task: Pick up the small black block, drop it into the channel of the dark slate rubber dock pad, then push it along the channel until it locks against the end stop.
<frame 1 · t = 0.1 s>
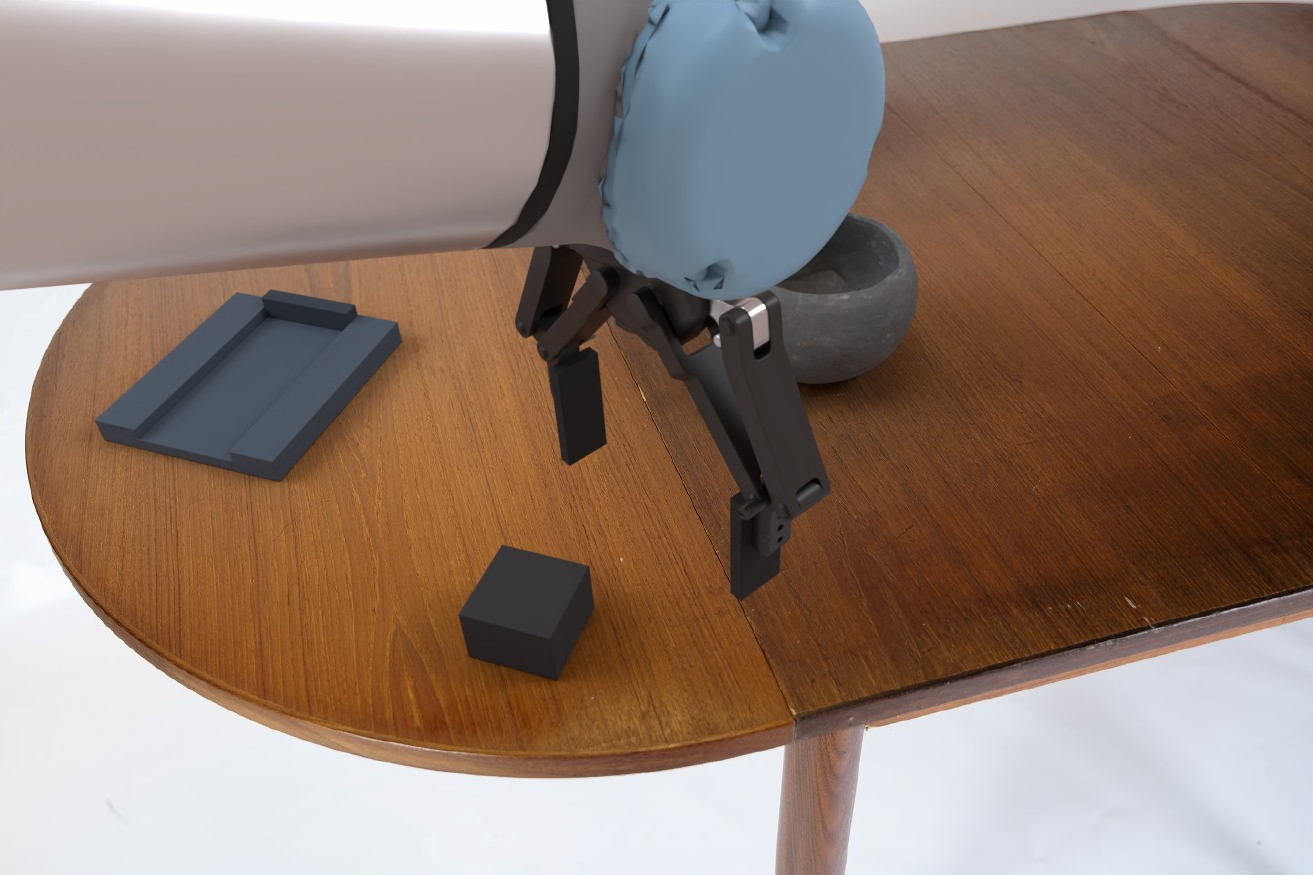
hand: (664, 513, 60), 13 cm above the table, tool pointing down, fingers open, 13 cm apart
cup: (420, 220, 110), on the table
bowl: (814, 359, 91), on the table
dock pad: (259, 388, 91), on the table
squash: (765, 143, 119), on the table
black block: (532, 631, 71), on the table
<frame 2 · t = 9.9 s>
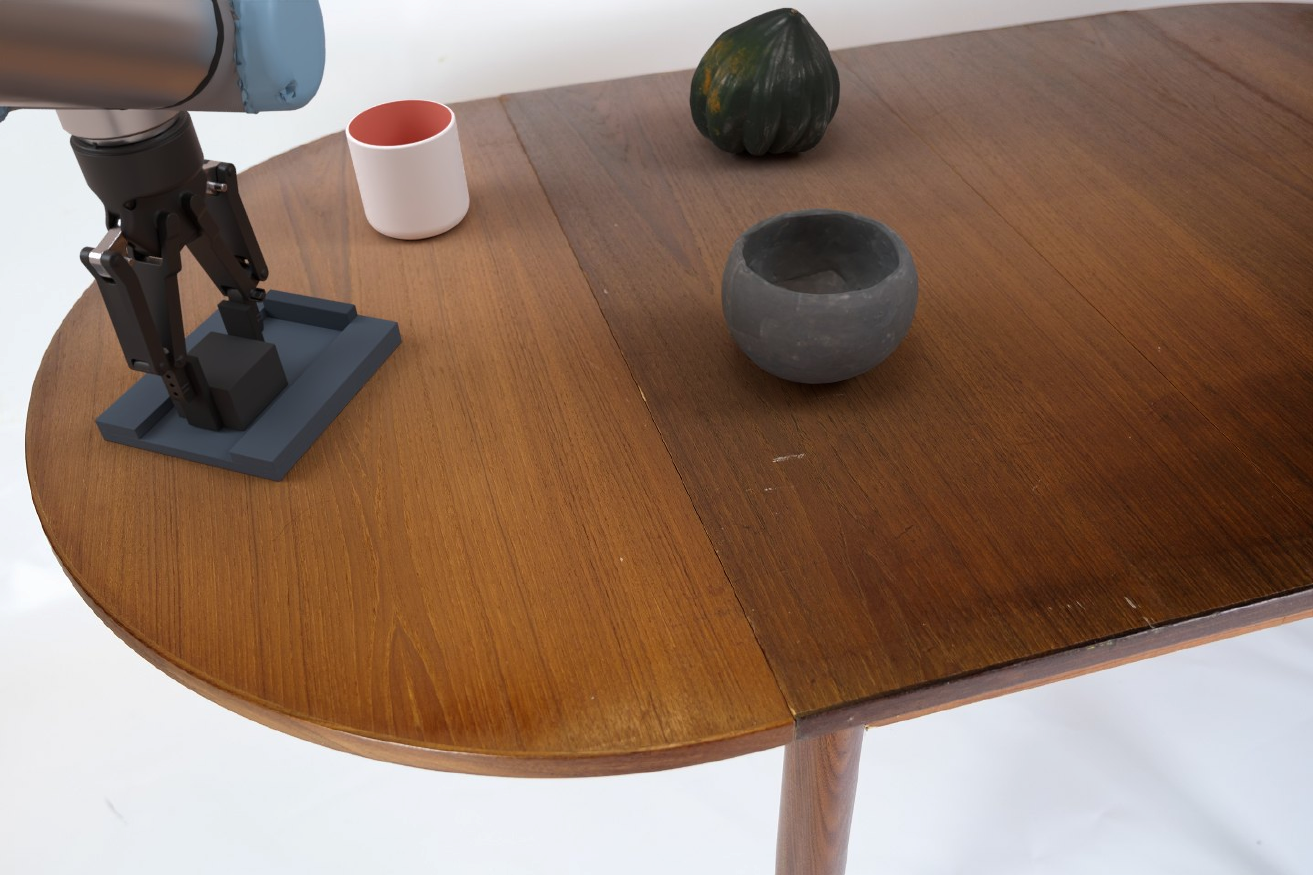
hand: (233, 397, 88), 1 cm above the table, tool pointing down, fingers closed on black block, 6 cm apart
black block: (234, 400, 88), point 1 cm above the table, touching gripper
everything else where it was.
when the fingers open (1 cm above the table, at t = 10.3 s): black block stays where it is, resting on dock pad.
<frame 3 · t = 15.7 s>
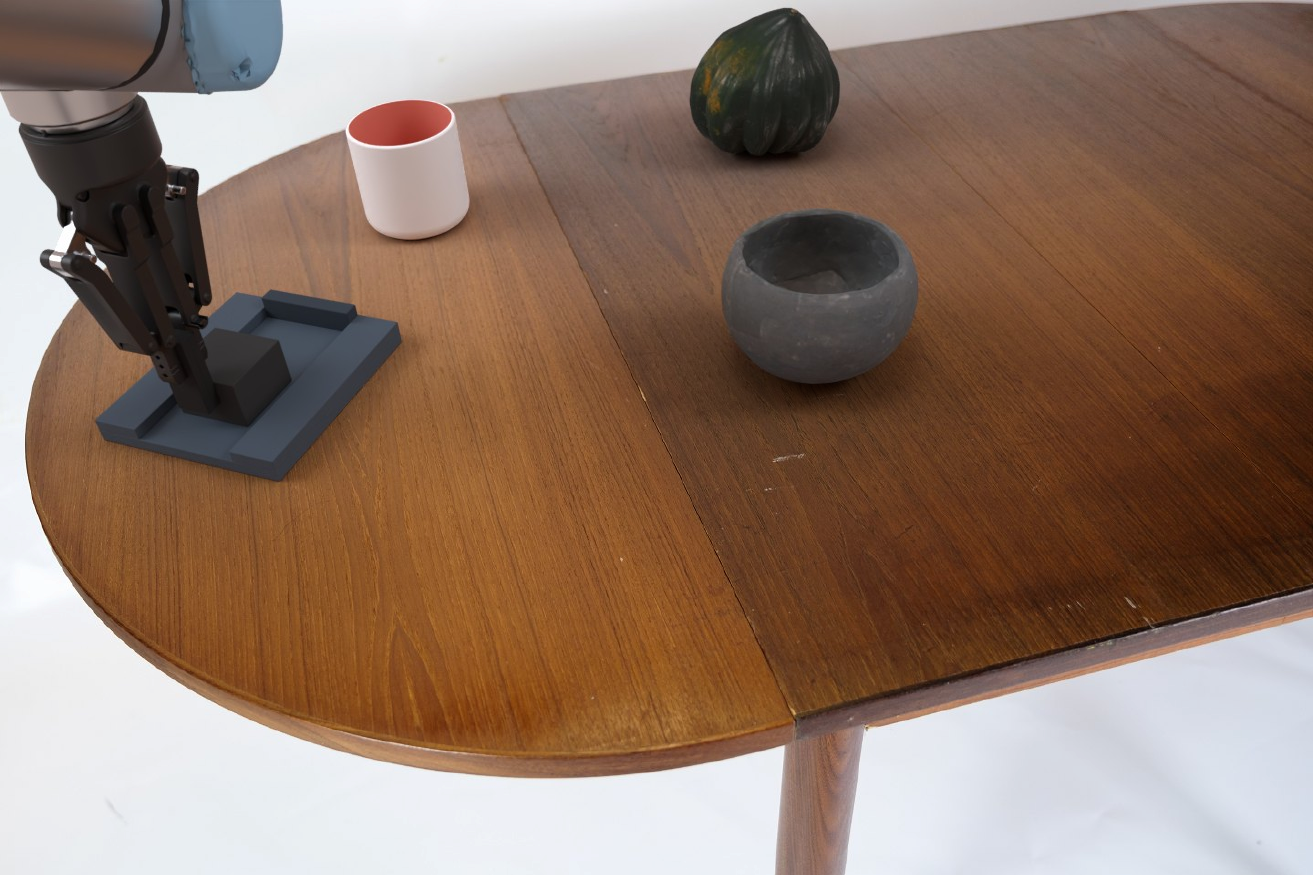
hand: (200, 404, 85), 3 cm above the table, tool pointing down, fingers closed
black block: (238, 396, 89), point 1 cm above the table, touching dock pad
everything else where it was.
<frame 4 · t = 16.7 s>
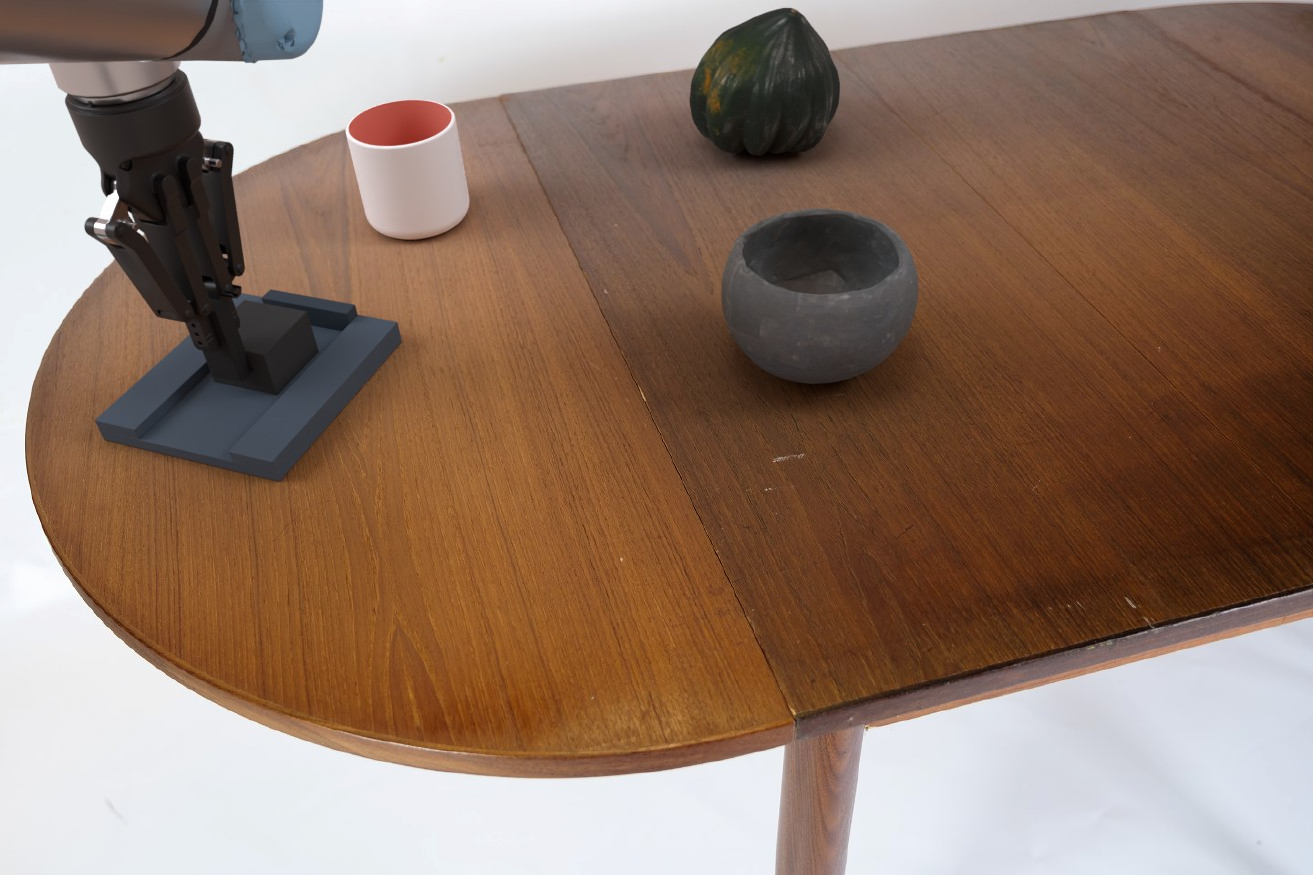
hand: (232, 373, 87), 3 cm above the table, tool pointing down, fingers closed
black block: (267, 366, 91), point 1 cm above the table, touching dock pad, gripper
everything else where it was.
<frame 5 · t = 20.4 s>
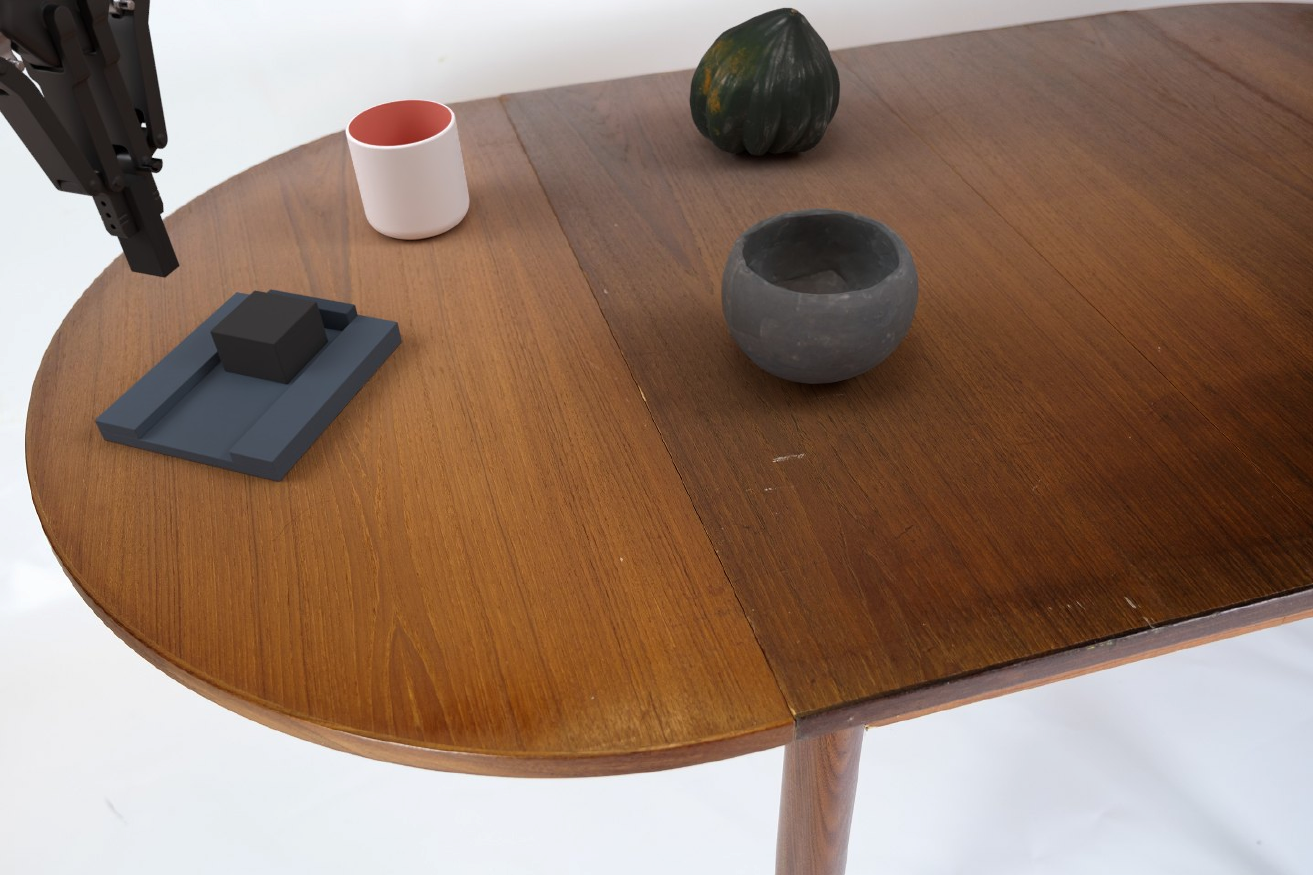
hand: (155, 268, 74), 16 cm above the table, tool pointing down, fingers closed
black block: (277, 356, 92), point 1 cm above the table, touching dock pad
everything else where it was.
at the end: black block 0.7 cm from the target spot on the dock pad, point 1.0 cm above the dock pad's base; black block tilted 0°; the gripper is holding nothing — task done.
